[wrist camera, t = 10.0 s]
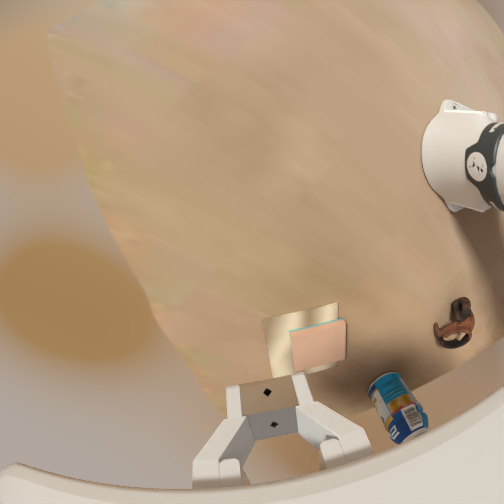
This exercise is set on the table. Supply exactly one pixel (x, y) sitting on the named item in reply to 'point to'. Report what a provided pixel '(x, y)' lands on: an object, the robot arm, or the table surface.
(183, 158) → the table surface
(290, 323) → the cream cloth
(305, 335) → the glazed tile
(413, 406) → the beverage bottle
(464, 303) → the brown ring-shaped piece
